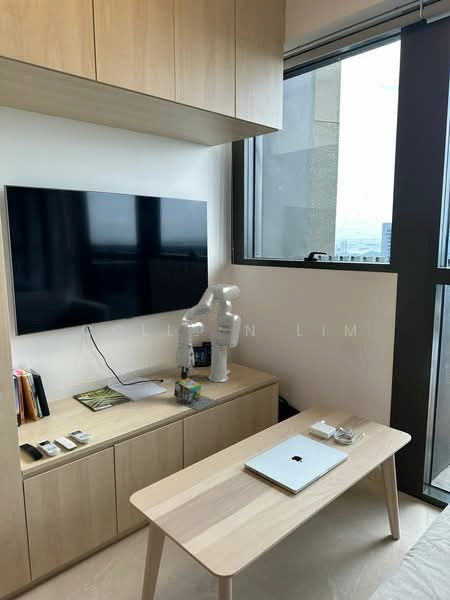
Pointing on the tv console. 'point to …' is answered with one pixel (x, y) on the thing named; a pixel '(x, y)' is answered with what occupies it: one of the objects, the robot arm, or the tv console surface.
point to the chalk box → (187, 390)
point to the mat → (198, 403)
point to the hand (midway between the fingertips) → (184, 378)
